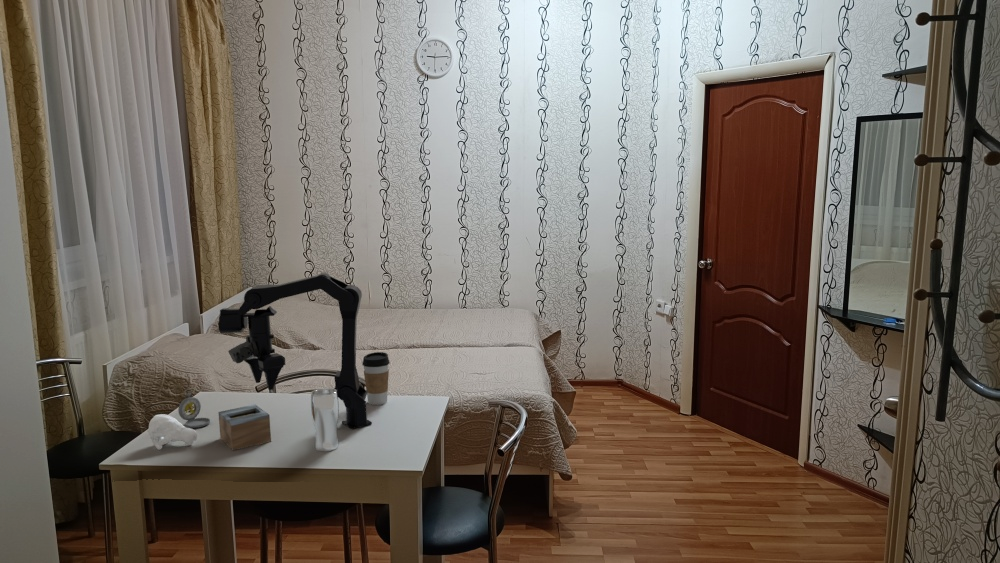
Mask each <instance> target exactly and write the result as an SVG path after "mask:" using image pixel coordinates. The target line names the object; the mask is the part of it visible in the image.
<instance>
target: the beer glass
mask: <svg viewBox="0 0 1000 563" xmlns="http://www.w3.org/2000/svg"><path fill="white" fill-rule="evenodd" d="M310 395H311V396H310V412H311V417H312V423H313V426H314V430H315V442H314V443H315V444H314V445H315V446H314V449H315V450H316V451H318V452H330V451H335V450H336V449H338V448H339V446H340V444H339V443H340V442H339V439H338V434H337V433H338V430H337V429H338V422H339V413H340V412H339V411H340V409H339V407H340V406H339V397H338V396H337V390H336V389H334V388H333V387H332V388H331V387H327V388H326V387H325V388H324V387H323V388H318V389H315V390H312V391H311V392H310Z"/></svg>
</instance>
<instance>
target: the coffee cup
mask: <svg viewBox="0 0 1000 563" xmlns="http://www.w3.org/2000/svg"><path fill="white" fill-rule="evenodd" d="M361 363H362V364H361V366H363V376H364V384H365V390H366V391H367V395H366V399H367V403H368V404H369V405H371V404H372V406H379V405H385V404H387V403H388V391H389V378H390V377H389V373H390V371H389V370H390V369H389V364H390V359H389V354H388V353H386V352H385V351H384V352H382V351H378V352H377V351H376V352H374V351H373V352H371V353H367V354H366V355H364V356H363V360H362V362H361Z"/></svg>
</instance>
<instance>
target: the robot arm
mask: <svg viewBox="0 0 1000 563" xmlns="http://www.w3.org/2000/svg"><path fill="white" fill-rule="evenodd" d="M318 290H321V291H323V292H324V293H326V294H327V295H328V296H330V297H331V298H332V299H334V300H336V301H337V302H338V306H339V307H338V308H339V312H340V315H341V320H342V322H341V323H342V324H341V325H342V326H341V365H340V366H341V368H340V370H337V371H336V373H335V375H334V377H333V378H334V383H335V386H334V388H333V389H336V390H337V396H338V399H340V401H342V402H343V405H344V406H345V413H346V415H345V417H346V419H344V420H342V421H341V424H343V425H344V426H346V427H348V428H349V429H350V430H351V429H352V430H353V429H356V428H361V427H364V426H369V425H372V424H373V421H371V420H369V419H368V414H367V401H366V399H367V391H366V388H364V387H363V386H362V385H361V384H360V378H359V374H358V373H359V372H358V369H357V362H356V361H357V360H356V359H357V322H358V321H357V319H358V314H359V311H360V306H361V302H362V296H363V293H362V290H361V289H360V288H359V287H358V286H357V285H355V284H348V283H346V282H344V281H342V280H339V279H336V278H335V277H333V276H331V275H330V274H328V273H327V272H326V273H325V272H322V273H319V274H318V275H313V276H310V277H305V278H301V279H297V280H293V281H290V282H289V281H287V282H285V283H281V284H262V285H261V284H259V285H255V286H253V287H251V288H250V289H248V290H247V291H246V292H245V293H244V297H243V303H242V304H241V306H239V308H227V307H226V308H225V307H224V308H221V309H219V316H218V321H217V325H218V330H219V333H220V334H237V333H244V331H245V330H246V329H247V328H248V335H247V334H246V336H245V341H244V342H242V343H239V344H237V345H236V346H234V347H232V348H230V349H229V350H228V351H227V352H228V354H229V355H230V358H231V360H232V362H234V363H236V364H240V363H243V362H244V363H247V364H248V365H249V368H250V370H251V374H252V377H253V378H254V381H255V383H256V384H259V383H261V381H262V377H263V373H264V377H265V381H266V382H265V383H266V385H267V389H268V390H269V391H271V390H273V389H274V387H275V384H276V382H277V380H278V377H279V375H280V373H281V370H282V368H284V366H286V357H285V356H284V355H282V354H279V353H277V352H276V350H275V348H273V344H272V342H273V341H272V339H273V340H274V338H275V337H274V334H272V333H271V332H272V331H271V330H272V329H271V321H270V317H275V315H276V314H277V313H278V312H277V310H275V309H274V308H273V307H272V306H271V304H273V303H274V302H277V301H278V300H281V299H285V298H290V297H293V296H297V295H298V296H299V295H302V294H305V293H310V292H314V291H318ZM268 305H270V306H268ZM266 306H268V307H267V308H264V309H263V307H266ZM251 310H255V311H254V312H250V311H251Z"/></svg>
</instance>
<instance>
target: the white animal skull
mask: <svg viewBox="0 0 1000 563" xmlns="http://www.w3.org/2000/svg"><path fill="white" fill-rule="evenodd" d="M147 432H148V436H149V439H150V440H151V442H152V444H153V445H154V447H155V448H156V449H157V450H159V451H160V450H161V449H162V448H163V445H166V444H169V443H170V442H171V443H174V442H175V443H176V442H183V443H184V446H185V447H188V446H193V444H194V442H195V441H197V439H198V433H197V431H196V430H195V429H193V428H190V427H186V425H183V424H182V422H180V421H178V420H177V418H175V417H173V416H172V415H169V414H164V413H163V414H162V413H160V414H155V415H154V416H153V417H152V418H151V419H150V421H149V423H148V430H147Z"/></svg>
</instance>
